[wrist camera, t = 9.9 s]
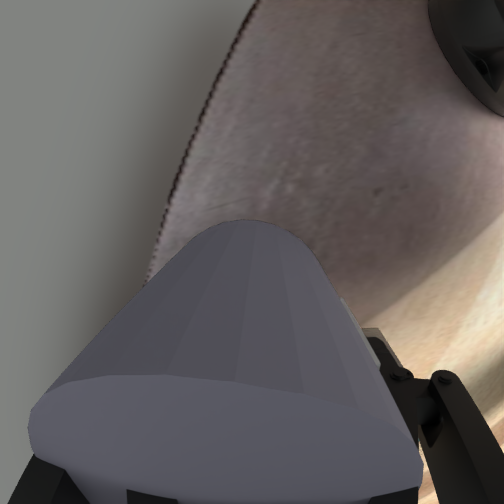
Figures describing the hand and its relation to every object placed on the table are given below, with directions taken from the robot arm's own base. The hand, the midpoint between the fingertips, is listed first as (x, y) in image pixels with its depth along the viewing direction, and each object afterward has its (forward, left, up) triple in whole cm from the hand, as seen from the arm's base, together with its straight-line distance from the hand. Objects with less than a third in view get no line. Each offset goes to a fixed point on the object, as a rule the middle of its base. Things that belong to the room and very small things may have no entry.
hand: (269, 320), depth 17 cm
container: (0, -1, -3) cm, 4 cm away
